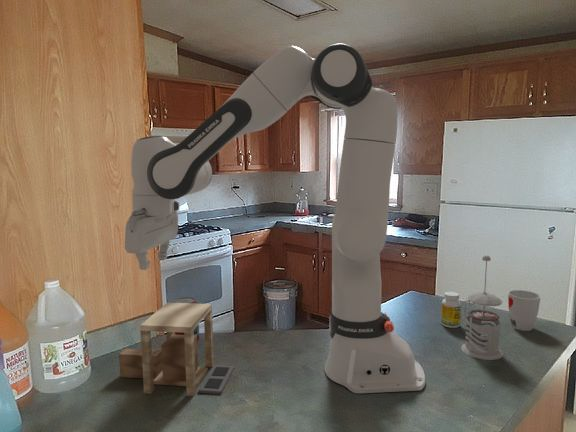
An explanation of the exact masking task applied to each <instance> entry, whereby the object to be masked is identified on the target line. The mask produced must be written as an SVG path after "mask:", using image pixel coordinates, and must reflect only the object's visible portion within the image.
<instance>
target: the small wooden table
mask: <svg viewBox="0 0 576 432" xmlns="http://www.w3.org/2000/svg"><path fill="white" fill-rule="evenodd" d="M212 306H213V304H212V303H175V302H167V303H165V304H163V306H162V307H161V308H159V309H158V310H156V311H155V312H154V313H153V314H152V315H151V316H149V317H148V318H147V319H146V320H144V321H143V322H142V323H141V324H140V325H139V328H140V329H139V330H140V332H139V333H140V343H141V344H140V345H141V347H140V348H141V350H142V366H143V378H142V381H143V382H142V383H143V393H144V394H150V395H151V394H152V393H153V391H154V390H155V384H154V382H153V381H154V379H153V364H152V350H153V349H152V335H151V334H152V332H163V333H164V332H165V333H166V340H167V339H168V338H169V337H170V336H171V335H172V334H173V335H175V332H183V333H184V341H185V363H186V385H187V386H186V396H187V397H195V395H196V393H197V387H196V374H195V350H194V329H195V328H196V327H197V326H198V324H199V325H200V323H201V322H202V321H203V322H204V324H203V325H204V326H203V327H204V328H203V329H204V351H205V352H204V353H205V367H207V368H212V367H213V366H214V365H215V357H214V332H213V331H214V329H213V307H212Z"/></svg>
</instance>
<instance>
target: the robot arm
mask: <svg viewBox="0 0 576 432" xmlns="http://www.w3.org/2000/svg"><path fill="white" fill-rule="evenodd" d="M307 96H309V97H310V98H312V99H314V100H316V101H317V102H319V103H320V104H322V105H323V106H325V107H328V108H330V109H332V110H342V111H343V112H344V115H345V129H344V135H343V143H342V150H341V159H340V167H339V173H338V174H339V176H338V184H337V192H336V193H337V194H336V203H335V204H336V205H335V212H334V216H333V217H332V222H331V311H329V313H330V314H329V321H328V322H329V324H328V325H329V335H330V342H329V343H330V344H329V350H328V351H329V352H328V354H327V355H328V356H327V360H326V363H325V366H324V372H325V375H326V376H327V377H328V378H329V379H330V380H331V381H333V382H334V383H337V384H339V385H342V386H343V387H345V388H347V390H349V391H350V392H351V393H353V394H373V393H374V394H375V393H396V392H414V391H415V392H417V391H422V390H423V389H424V388H425V386H426V375H425V371H424V369H423V367H422V365H421V364H420V363H419V362H418V361H417V360H416V359H415V356H414V353H413V351H412V350H413V349H412V348H411V346H410V345H409V343H408V342H407V341H405V339H403V338H402V337H400V336H399V335H398V334H396V333H395V332H394V329H395V326H394V323H393V322H392V320H391V319H390V317H389V316H388V314H387V312H382V284H383V283H382V281H383V280H382V271H381V257H380V253H381V252H382V251H383V249H384V247H385V245H386V241H387V233H388V221H389V209H390V189H391V177H392V171H393V165H394V163H393V162H394V157H395V149H396V143H397V136H398V135H397V133H398V103H397V99H396V97H395V95H393V94H392V93H391V92H389V91H388V90H385V89H383V88H379V87H378V88H377V87H373V80H372V78H371V74H370V72H369V70H368V66H367V64H366V62H365V60H364V58H363V56H362V55H361V53H360V52H359V50H357V49H356V48H354V47H353V46H351V45H349V44H345V43H334V44H331V45H328V46H327V47H324V49H322V50H321V51H320V52H319V53H318V55H317V56H316V58H313V57H312V56H310V55H309V54H308V53H307V52H306V51H304V49H302V48H300V47H298V46H294V45H288V46H287V45H286V46H285V47H283V48H281V49H280V50H279V51H277V52H275V53H273V55H271V56H270V57H269V58H267V60H265V61H264V62H262V64H260V65H259V66H258V67H257V68H256V69H255V70H254V71H253V72H252V73H251V74H250V75H249V76H248V77H247V78H246V79H244V81H243V82H242V83H241V84H240V86H238V87H237V89H235V91H234V92H233V93H232V94H231V96H230V97H229V98H227V100H225V101H224V102H223V104H222V105H220V106H219V108H218V109H217V110H216V111H215V112H213V113H212V114H211V115H210V116H209V117H208V118H206V119H205V120H204V121H203V122H202V123H201V124H199V126H197V127H196V128H195V129H194V130H193V131H192V132H191V133H189V134H188V136H186V137H185V138H184V139H183V140H182V141H181V142H179V143H178V144H176V143H174V142H173V141H171V140H170V139H169V137H167V136H163V135H155V136H154V135H151V136H145V137H141V138H139V139H136V141H135V142H134V143H133V146H132V149H131V163H130V164H131V171H130V172H131V178H132V180H133V181H132V182H133V187H132V188H133V189H132V191H131V194H132V195H131V196H132V199H131V200H132V212H131V214H130V216H129V217H128V219H127V221H126V224H125V232H124V250H125V251H126V253H128V254H135V257H136V258H137V261H138V268H139V270H143V271H146V270H148V269H150V267H151V266H150V260H148V257H147V255H148V253H149V252H148V251H149V250H152V249H154V248H156V247H158V246H159V251H158V253H157V259H158V260H159V261H164V260H166V259H167V258H168V251H169V248H170V241H172V240H174V239H176V238H177V236H178V231H179V214H178V211H179V210H180V202H179V201H177V199H180V198H182V197H184V196H188V195H191V194H195V193H197V192H201V191H203V190H204V189H206V187H208V186H209V184H210V183H211V181H212V177H213V169H212V168H213V167H212V165H211V163H210V160H211V159H212V158H213V157H215V155H217V154H218V153H219V152H221V150H222V149H223V148H224V147H225V146H227V145H229V143H231V142H232V141H233V140H235V139H237V138H238V137H241V136H243V135H246V134H251V133H255V132H258V131H263V130H266V129H267V128H268V127H271V125H273V124H275V123H276V122H277V121H278V120H280V119H281V118H282V117H283V116H285V114H286V113H287V112H288V111H289V110H291V108H292V107H293V106H294V105H296V104H297V103H298V102H299V101H300V100H301V99H303V98H306V97H307Z"/></svg>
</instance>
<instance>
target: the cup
mask: <svg viewBox="0 0 576 432" xmlns="http://www.w3.org/2000/svg"><path fill="white" fill-rule="evenodd" d="M507 293H508V296H507V298H508V299H507V301H508V302H507V305H508V316H509V320H510V323H511V327H512V328H513V329H515V330H517V331H522V332H523V331H524V332H529V331H532V330H533V327H534V326H535V323H536V322H537V317H538V314H539V309H540V304H541V295H540V294H539V293H536V292H534V291H533V292H532V291H529V290H522V289H513V290H509V291H507Z"/></svg>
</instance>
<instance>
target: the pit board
mask: <svg viewBox="0 0 576 432" xmlns="http://www.w3.org/2000/svg"><path fill="white" fill-rule="evenodd" d="M234 370H235V366H234V365H222V364H221V365H220V364H214V365H213V366H212V367H211V369H210V370H209V372H208V374H207V375H206V377H205V379H204V381H203V382H202V383H201V385H200V387H199V388H198V394H216V395H223V394H222V393H223V391H224V389H225V388H226V386H227V384H228V382H229V380H230V378H231V377H232V374H233V372H234Z"/></svg>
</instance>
